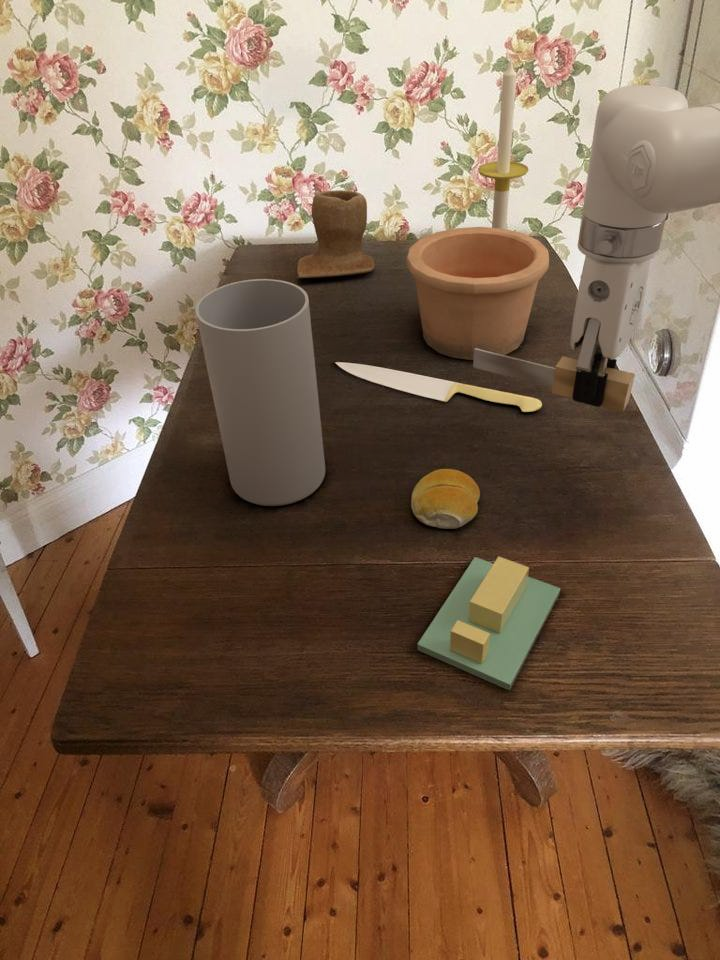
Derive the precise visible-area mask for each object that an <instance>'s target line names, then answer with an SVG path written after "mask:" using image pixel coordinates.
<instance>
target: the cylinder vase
mask: <svg viewBox="0 0 720 960" xmlns="http://www.w3.org/2000/svg"><path fill="white" fill-rule="evenodd" d="M310 310H311V309H310V301H309V295H308V293H307V291H305V290H304V288H302V287H301V286H299V285H297V284H295V283H292V282H290V281H286V280H280V279H272V278H271V279H270V278H253V279H246V280H241V281H240V280H239V281H236V282H231V283H228V284H224V285H221V286H219V287H217V288H215V289H213V290H211V291H209V292H208V293H206V294H205V295H204V296H203V297H201V298H200V299H199V300H198V302H197V303H196V306H195V310H194V312H195V317H196V322H197V326H198V331H199V336H200V340H201V346H202V351H203V355H204V361H205V365H206V369H207V374H208V380H209V384H210V390H211V394H212V399H213V404H214V410H215V413H216V419H217V423H218V429H219V435H220V439H221V444H222V447H223V453H224V457H225V462H226V467H227V473H228V477H229V483H230V485H231V488H232V489H233V491H234V492H235V494H236V495H238V497H240V498H241V499H243V500H245V501H246V502H248V503H251V504H254V505H258V506H263V507H280V506H286V505H290V504H294V503H297V502H300V501H302V500H304V499H306V498H307V497H309V496H310V495H312V494H314V492H315V491H317V489H318V488H319V487H320V486H321V485H322V483H323V481H324V479H325V475H326V461H325V460H326V459H325V452H324V451H325V450H324V443H323V430H322V421H321V411H320V401H319V400H320V399H319V391H318V381H317V371H316V361H315V352H314V350H315V349H314V341H313V340H314V339H313V332H312V330H313V329H312V321H311V312H310Z"/></svg>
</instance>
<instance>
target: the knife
mask: <svg viewBox="0 0 720 960" xmlns="http://www.w3.org/2000/svg"><path fill="white" fill-rule="evenodd" d="M334 363H335V364H336V365H337V366H338V368H340V369H342V370H343V371H345V372H346V373H348V374H351V375H353V376H355V377H357V378H359V379H363V380H366V381H369V382H371V383H375V384H378V385H381V386H385V387H388V388H391V389H394V390H398V391H401V392H405V393H409V394H413V395H416V396H420V397H424V398H429V399H432V400H437V401H440V402H445V403H447V402H449V400H450V399H451V398H452V397H453V396H454V395H455V394H457V393H461V394H465V395H468V396H471V397H475V398H477V399H481V400H484V401H489V402H493V403H499V404H505V405H513V406H517V407H519V408H520V410H521V412H523V413H529V412H535V411H538V410H540V409H541V408H542V406H543V401H541V400H540V399H538V398H536V397H532V396H527V395H521V394H517V393H512V392H506V391H502V390H501V391H500V390H496V389H492V388H486V387H482V386H477V385H472V384H466V383H461V382H456V381H451V380H446V379H442V378H437V377H431V376H426V375H421V374H416V373H412V372H407V371H402V370H396V369H391V368H385V367H380V366H375V365H369V364H363V363H354V362H353V363H352V362H343V361H342V362H341V361H336V362H334Z"/></svg>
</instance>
